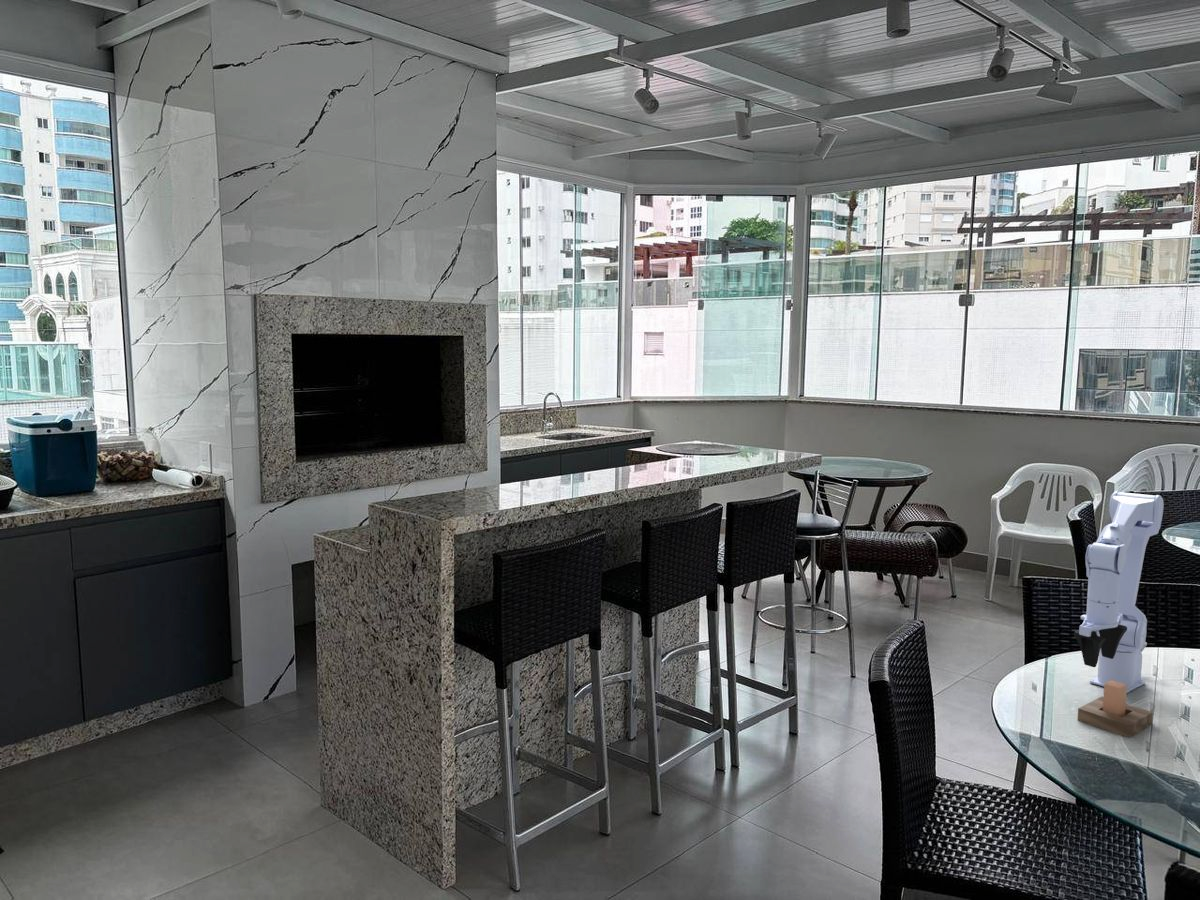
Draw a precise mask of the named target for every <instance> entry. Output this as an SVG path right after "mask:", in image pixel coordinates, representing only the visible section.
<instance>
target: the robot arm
mask: <svg viewBox="0 0 1200 900" xmlns="http://www.w3.org/2000/svg"><path fill="white" fill-rule="evenodd" d="M1164 504H1165V503H1164V499H1163V497H1162V496H1161V495H1160V494H1156V495H1155V494H1154V495H1153V494H1145V493H1144V494H1141V493H1134V492H1133V493H1131V492H1124V491H1123V492H1122V491H1118V490H1115V491H1114V492H1113V493H1111V495H1110V499H1109V506H1108V507H1109V508H1108V510H1109V515H1110V519H1111V523H1109V524H1106V525H1105V526H1104V527H1103V528H1102V530H1101V532H1100V534H1099V536H1098V538H1097V539H1096V541H1095V542H1093V543H1090V544H1088V546H1087V548H1086V552H1085V568H1086V577H1087V578H1088V579H1087V580H1088V581H1087V594H1086V595H1087V596H1086V597H1087V599H1086V613H1085V614H1082V615H1080V620H1083V622H1082V624H1080V625H1079V627H1078V628H1079V629H1076V630H1074V637H1075V639H1076V640H1077V642H1078V645H1079V647H1080V650H1081V654H1082V660H1083V663H1084V665H1085V666H1088V667H1091V668H1096V667H1097V676H1096V677H1093V678H1092V679H1089V683H1090V684H1094V685H1098V686H1101V687H1103V688H1104V684H1105V683H1107V682H1109V681H1111V680H1112V681H1115V682H1119V683H1122V684H1125V685H1127V692H1126V694H1128V693H1130V692H1131V691H1134V690H1135V689H1137V688H1139V687H1141V686H1142V685H1144V684H1145V683H1146V681H1145V680H1142V665H1143V654H1142V652H1141V651H1140V649H1141V648H1142V647H1143V646H1144V644H1145V642H1146V640H1147V639H1146V638H1147V627H1148V626H1147V625H1148V619H1147V617H1146V615H1145V614H1144V612H1142V611H1141V610H1140V609H1139V608H1138V607H1137V606H1136V602H1137V596H1138V593H1139V586H1140V580H1141V576H1142V570H1143V563H1144V558H1145V553H1146V547H1147V545H1148V542H1149V540H1150V537H1152V536H1156V535H1158V534H1159V530H1161V525H1162V521H1163V514H1164Z"/></svg>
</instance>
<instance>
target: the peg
mask: <svg viewBox="0 0 1200 900" xmlns="http://www.w3.org/2000/svg"><path fill="white" fill-rule="evenodd" d="M1126 692H1127V685H1125V684H1122V683H1119V682H1115V681H1112V680H1111V681H1109V682H1107V683H1105V684H1104V687H1103V697H1104V699H1103V711H1105V712H1108V713H1111V714H1114V715H1117V716H1120V717H1123V716H1125V708H1126V704H1127V693H1126Z"/></svg>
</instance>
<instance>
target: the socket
mask: <svg viewBox="0 0 1200 900" xmlns="http://www.w3.org/2000/svg"><path fill="white" fill-rule="evenodd" d="M1103 699H1104V695H1101V696H1099V697H1098V698H1095V699H1094V700H1091V701H1090V702H1087V703H1086V704H1084V705H1082V706H1080V707H1078V709H1077V721H1079V720H1080V721H1079V722H1082V723H1085V724H1089V725H1091V726H1095V727H1097V726H1098V728H1100V729H1103V730H1106V731H1109V732H1112V733H1114V732H1115V733H1114V734H1117V733H1118V735H1120V734H1121V736H1123V735H1124V736H1123V737H1126V736H1127V738H1130V736H1131V737H1133V736H1134V735H1136V734H1138V733H1139V732H1141V731H1143V730H1144V729H1146V728H1148V727H1149V725H1150V726H1151V725H1153V718H1154V712H1153V711H1151V710H1147V709H1144V708H1141V707H1138V706H1135V705H1132V704H1128V703H1126V708H1125V716H1123V717H1120V716H1117V715H1114V714H1111V713H1108V712H1105V711H1103ZM1147 726H1148V727H1147ZM1142 729H1143V730H1142ZM1140 730H1141V731H1140ZM1137 732H1138V733H1137ZM1132 735H1133V736H1132Z"/></svg>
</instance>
